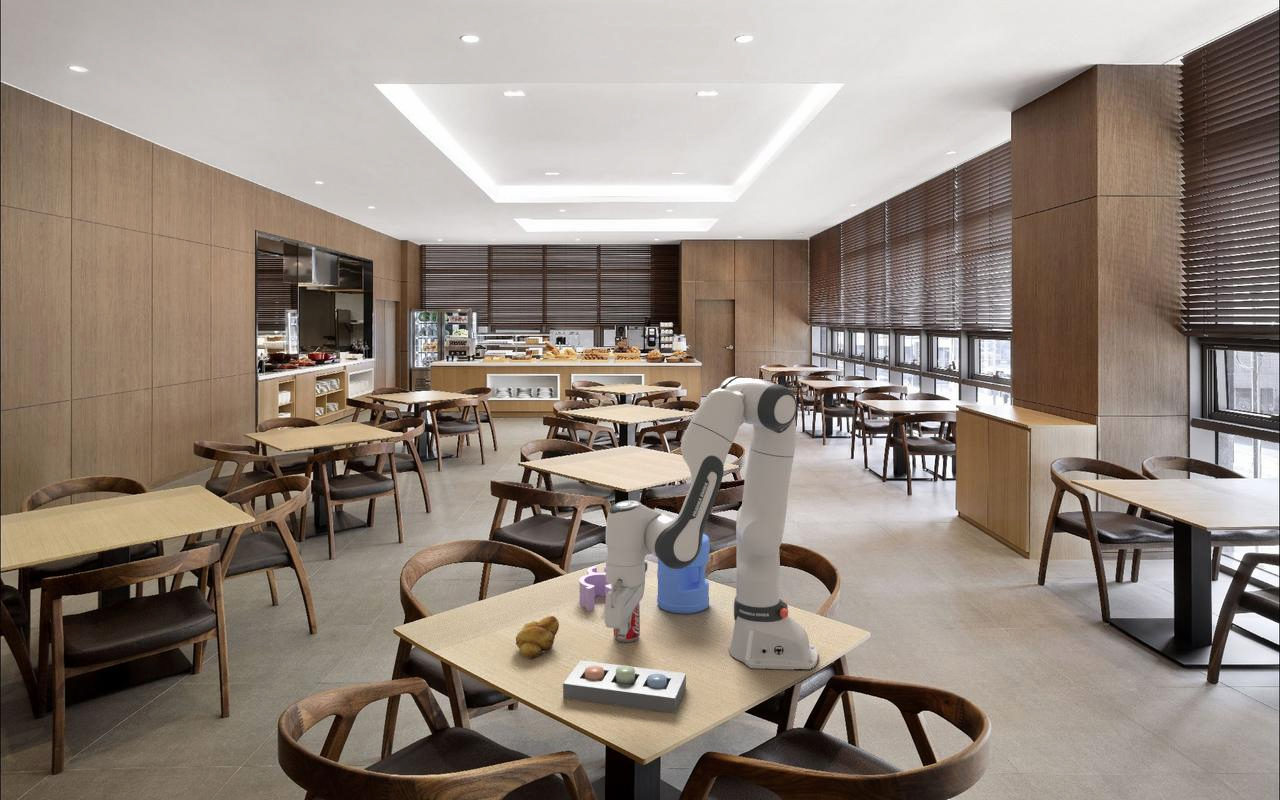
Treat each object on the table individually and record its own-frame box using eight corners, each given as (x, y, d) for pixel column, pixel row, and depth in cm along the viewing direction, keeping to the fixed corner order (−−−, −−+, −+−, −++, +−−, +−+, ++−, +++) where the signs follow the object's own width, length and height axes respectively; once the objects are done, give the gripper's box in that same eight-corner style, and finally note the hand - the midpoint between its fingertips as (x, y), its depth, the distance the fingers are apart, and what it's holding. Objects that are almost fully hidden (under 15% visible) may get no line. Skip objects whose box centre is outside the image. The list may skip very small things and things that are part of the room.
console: (685, 687, 177) (685, 673, 177) (674, 713, 165) (675, 698, 165) (580, 674, 184) (580, 660, 183) (563, 698, 172) (563, 683, 172)
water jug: (646, 607, 226) (647, 515, 223) (675, 591, 239) (675, 505, 236) (691, 619, 217) (692, 524, 214) (718, 602, 230) (719, 512, 227)
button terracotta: (606, 677, 178) (606, 667, 177) (600, 686, 174) (600, 675, 173) (588, 675, 179) (588, 664, 179) (582, 684, 175) (582, 673, 174)
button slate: (668, 685, 174) (668, 674, 174) (664, 694, 170) (664, 683, 169) (650, 683, 175) (650, 672, 175) (645, 692, 171) (645, 681, 171)
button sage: (637, 677, 176) (637, 666, 175) (632, 686, 172) (632, 675, 171) (618, 675, 177) (618, 664, 177) (613, 684, 173) (613, 673, 172)
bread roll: (538, 664, 189) (537, 633, 188) (504, 657, 193) (504, 627, 192) (562, 643, 201) (562, 614, 200) (530, 637, 205) (529, 609, 204)
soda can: (636, 644, 200) (636, 597, 199) (610, 642, 202) (610, 595, 200) (642, 633, 207) (642, 587, 206) (616, 631, 209) (616, 585, 207)
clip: (581, 587, 243) (581, 566, 242) (619, 586, 243) (620, 566, 243) (578, 611, 223) (578, 588, 222) (620, 611, 224) (620, 588, 223)
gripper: (625, 590, 161) (625, 652, 162) (649, 560, 180) (649, 616, 182) (597, 587, 162) (597, 649, 164) (624, 558, 182) (624, 613, 183)
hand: (625, 631), depth 173 cm, fingers closed
